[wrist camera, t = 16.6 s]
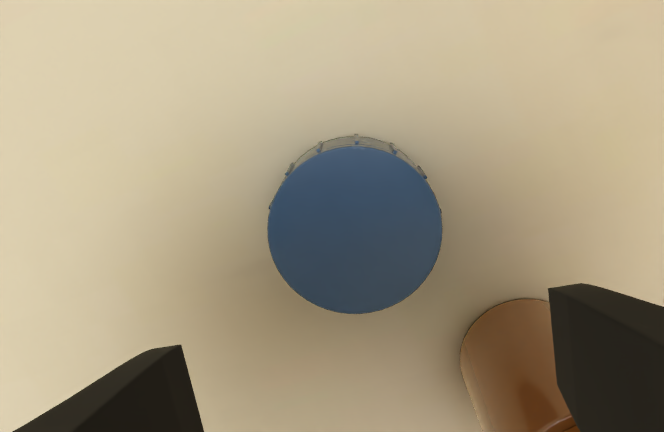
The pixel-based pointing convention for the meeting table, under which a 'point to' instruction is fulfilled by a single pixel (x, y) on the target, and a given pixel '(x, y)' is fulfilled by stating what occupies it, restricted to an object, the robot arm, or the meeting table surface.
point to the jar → (514, 370)
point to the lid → (354, 226)
